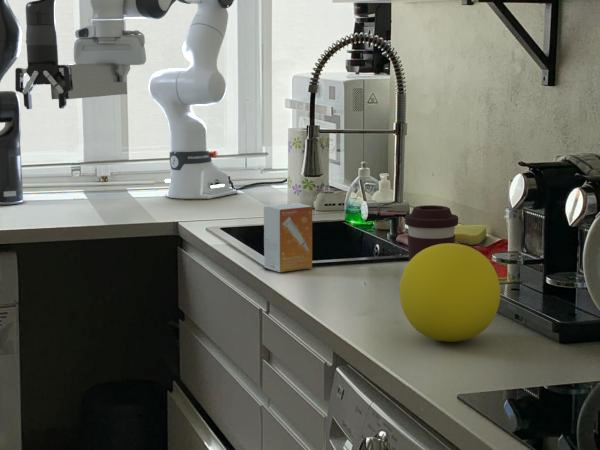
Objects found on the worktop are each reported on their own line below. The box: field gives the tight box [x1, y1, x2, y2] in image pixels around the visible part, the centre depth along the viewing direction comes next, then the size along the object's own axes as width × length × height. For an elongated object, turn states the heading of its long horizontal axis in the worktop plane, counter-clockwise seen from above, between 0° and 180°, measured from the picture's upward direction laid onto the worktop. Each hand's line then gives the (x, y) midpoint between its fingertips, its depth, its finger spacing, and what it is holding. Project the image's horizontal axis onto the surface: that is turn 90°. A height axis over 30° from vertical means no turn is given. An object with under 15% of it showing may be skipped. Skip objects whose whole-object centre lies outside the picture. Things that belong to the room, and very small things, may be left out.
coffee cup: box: [404, 204, 459, 262], centre depth 197 cm, size 10×10×15 cm
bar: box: [50, 63, 128, 100], centre depth 278 cm, size 26×5×9 cm, turn 156°
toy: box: [399, 243, 501, 343], centre depth 160 cm, size 15×15×15 cm
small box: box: [263, 202, 313, 273], centre depth 214 cm, size 8×6×13 cm
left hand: (45, 108), depth 265 cm, fingers open, 8 cm apart
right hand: (111, 82), depth 286 cm, fingers closed on bar, 6 cm apart
